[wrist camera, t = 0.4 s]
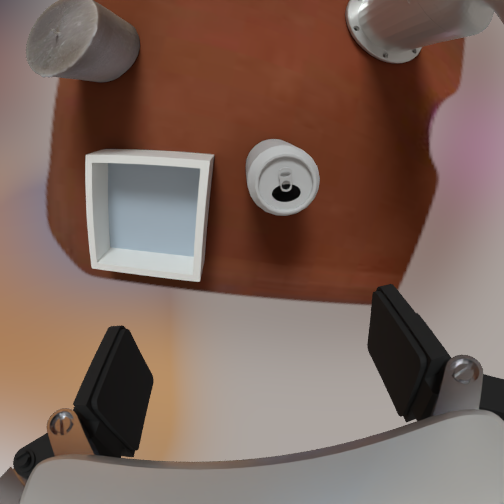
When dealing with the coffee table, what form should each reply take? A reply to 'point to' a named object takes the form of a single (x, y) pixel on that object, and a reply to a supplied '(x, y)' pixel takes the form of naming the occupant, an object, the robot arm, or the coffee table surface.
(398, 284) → the coffee table surface
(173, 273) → the walled box
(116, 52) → the pillar candle
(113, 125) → the coffee table surface
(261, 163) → the can
